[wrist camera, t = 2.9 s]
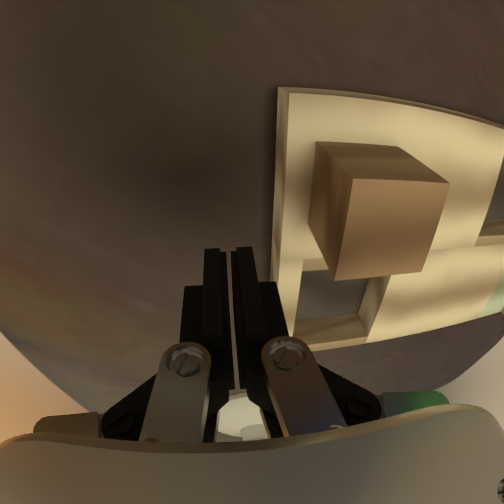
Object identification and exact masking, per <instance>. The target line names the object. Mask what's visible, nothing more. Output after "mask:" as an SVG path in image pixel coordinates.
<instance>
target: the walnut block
mask: <svg viewBox="0 0 504 504" xmlns="http://www.w3.org/2000/svg"><path fill="white" fill-rule="evenodd" d="M449 186H450V183H449V182H448V181H446V180H445V179H444V178H442V177H441V176H440V175H438V174H437V173H436V172H434V171H433V170H432V169H430V168H429V167H427V166H426V165H425V164H423V163H422V162H420V161H419V160H417V159H416V158H415V157H413V156H412V155H410V154H409V153H407V152H406V151H404V150H403V149H401V148H400V147H398V146H387V145H376V144H362V143H346V142H324V141H316V145H315V157H314V168H313V179H312V189H311V199H310V208H309V217H308V226H309V228H310V230H311V232H312V234H313V236H314V239H315V241H316V243H317V245H318V247H319V249H320V251H321V253H322V255H323V258H324V260H325V262H326V264H327V266H328V268H329V270H330V273H331V275H332V277H333V279H334V281H337V280H348V279H359V278H369V277H379V276H389V275H398V274H408V273H417V272H422V269H423V266H424V264H425V261H426V258H427V256H428V253H429V250H430V247H431V244H432V242H433V239H434V236H435V233H436V230H437V227H438V224H439V221H440V217H441V214H442V211H443V208H444V204H445V201H446V197H447V194H448V190H449Z"/></svg>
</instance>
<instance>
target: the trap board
mask: <svg viewBox="0 0 504 504" xmlns="http://www.w3.org/2000/svg"><path fill="white" fill-rule="evenodd" d="M316 141H324V142H346V143H362V144H376V145H387V146H398V147H400V148H401V149H403V150H404V151H406V152H407V153H409V154H410V155H412V156H413V157H415V158H416V159H417V160H419V161H420V162H422V163H423V164H425V165H426V166H427V167H429V168H430V169H432V170H433V171H434V172H436V173H437V174H438V175H440V176H441V177H442V178H444V179H445V180H446V181H448V182H449V183H450V186H449V190H448V194H447V197H446V201H445V204H444V208H443V211H442V214H441V217H440V221H439V224H438V227H437V230H436V233H435V236H434V239H433V242H432V244H431V247H430V250H429V253H428V256H427V258H426V261H425V264H424V266H423V269H422V272H417V273H408V274H398V275H389V276H379V277H369V278H359V279H348V280H337V281H334V279H333V277H332V275H331V273H330V270H329V268H328V266H327V264H326V262H325V260H324V258H323V255H322V253H321V251H320V249H319V247H318V245H317V243H316V241H315V239H314V236H313V234H312V232H311V230H310V228H309V226H308V217H309V208H310V199H311V189H312V179H313V168H314V157H315V145H316ZM270 281H275V282H276V284H277V287H278V291H279V296H280V300H281V304H282V308H283V312H284V316H285V320H286V324H287V328H288V332H289V336H291V337H295V338H298V339H300V340H302V341H303V342H305V343H306V344H307V345H308V347H309V348H310V350H311V351H318V350H325V349H332V348H339V347H345V346H352V345H358V344H364V343H370V342H375V341H381V340H386V339H391V338H396V337H401V336H406V335H411V334H415V333H420V332H424V331H429V330H433V329H437V328H442V327H446V326H450V325H454V324H458V323H461V322H465V321H469V320H473V319H476V318H480V317H483V316H487V315H490V314H493V313H497V312H500V311H501V312H502V313H503V315H504V125H502V124H498V123H495V122H492V121H489V120H486V119H483V118H479V117H476V116H472V115H469V114H465V113H462V112H458V111H454V110H450V109H446V108H442V107H437V106H433V105H429V104H424V103H419V102H414V101H409V100H403V99H398V98H392V97H386V96H379V95H373V94H365V93H357V92H349V91H339V90H329V89H316V88H300V87H278V99H277V131H276V159H275V184H274V207H273V229H272V249H271V268H270Z"/></svg>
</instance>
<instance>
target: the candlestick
mask: <svg viewBox="0 0 504 504" xmlns="http://www.w3.org/2000/svg"><path fill="white" fill-rule="evenodd" d="M218 431H219V432H222V433H224V434H228V435H232V436H238V437H242V438H243V441H251V440H262V439H268V436H267V433H266V430H265V427H264V424H263V421H262V417H261V414H260V411H259V406H257V405H256V404H254V403H253V402H251V401H250V400H249V398H248V397H247V392H246V393H241V394H236V395H232V396H229V402H228V403H226V404H225V405H224V406H223V407H222V408H221V409H220V417H219V425H218Z"/></svg>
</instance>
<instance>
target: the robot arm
mask: <svg viewBox="0 0 504 504" xmlns="http://www.w3.org/2000/svg"><path fill="white" fill-rule="evenodd" d="M231 268H232V290H233V310H234V323H235V335H236V347H237V359H238V370H239V382H240V389H246V390H247V397H248V398H249V400H250V401H251V402H253V403H254V404H256V405H257V406H259V411H260V414H261V417H262V421H263V424H264V427H265V430H266V433H267V436H268V439H262V440H251V441H237V442H217V443H216V441H217V433H218V425H219V417H220V409H221V408H222V407H223V406H224V405H225V404H226V403H228V402H229V390H233V389H235V383H234V369H233V356H232V342H231V327H230V312H229V296H228V279H227V262H226V252H220V248H213V249H205V251H204V275H203V285H199V286H185V289H184V297H183V308H182V318H181V330H180V342H179V343H178V344H175V345H173V346H171V347H170V348H168V349H167V350H166V351H165V352H164V354H163V356H162V358H161V362H160V365H159V369H158V372H157V374H155V375H154V376H153V377H151V378H150V379H149V380H147V381H146V382H145V383H143V384H142V385H141V386H139V387H138V388H137V389H135V390H134V391H133V392H131V393H130V394H129V395H127V396H126V397H125V398H123V399H122V400H121V401H119V402H118V403H117V404H115V405H114V406H112V407H111V408H110V409H109V410H108V411H107V412H106V413H103V414H98V413H97V412H89V413H80V414H70V415H59V416H47V417H44V418H42V419H40V420H39V421H38V422H37V423H36V425H35V426H34V430H33V433H29V434H23V435H19V436H15V437H12V438H10V439H8V440H5V441H4V442H2V443H1V444H0V504H504V431H503V429H502V428H501V426H500V425H499V423H498V422H497V420H496V419H495V418H494V416H493V415H492V414H491V413H489V412H488V411H487V410H485V409H483V408H481V407H478V406H473V405H467V404H449V401H448V399H447V398H446V397H445V396H444V395H443V394H441V393H439V392H437V391H419V392H388V393H382V395H374V394H373V393H371V392H370V391H368V390H366V389H364V388H362V387H360V386H358V385H356V384H354V383H352V382H351V381H349V380H347V379H345V378H343V377H341V376H339V375H337V374H335V373H334V372H332V371H330V370H328V369H326V368H324V367H323V366H321V365H319V364H317V362H316V360H315V358H314V356H313V354H312V352H311V350H310V348H309V347H308V345H307V344H306V343H305V342H303V341H302V340H300V339H298V338H295V337H291V336H289V332H288V328H287V324H286V320H285V316H284V312H283V308H282V304H281V300H280V296H279V291H278V287H277V284H276V282H275V281H270V282H258V278H257V272H256V267H255V261H254V256H253V250H252V246H251V247H237V251H233V252H231Z"/></svg>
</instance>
